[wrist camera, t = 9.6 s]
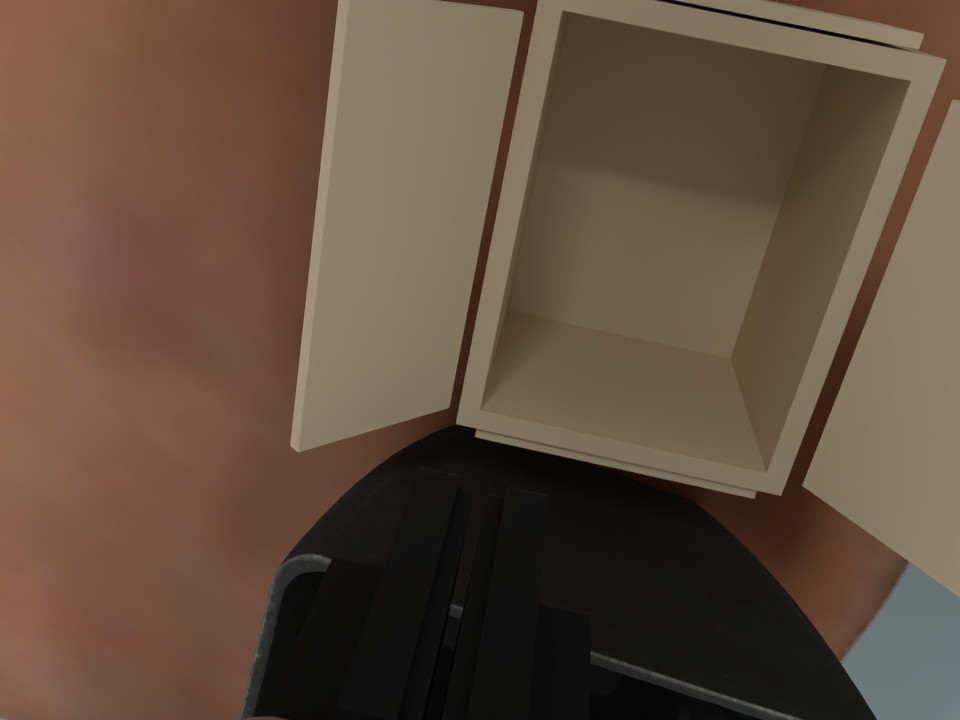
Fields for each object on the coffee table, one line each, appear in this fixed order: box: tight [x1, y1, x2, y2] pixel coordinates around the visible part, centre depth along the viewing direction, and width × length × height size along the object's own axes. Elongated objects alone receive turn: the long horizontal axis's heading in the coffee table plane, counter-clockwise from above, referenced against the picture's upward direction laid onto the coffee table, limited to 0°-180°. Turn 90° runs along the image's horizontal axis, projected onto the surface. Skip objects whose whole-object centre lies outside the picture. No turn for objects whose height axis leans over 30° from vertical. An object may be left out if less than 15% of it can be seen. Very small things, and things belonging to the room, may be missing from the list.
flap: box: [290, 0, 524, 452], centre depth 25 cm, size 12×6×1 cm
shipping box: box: [456, 0, 947, 499], centre depth 32 cm, size 15×11×10 cm
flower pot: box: [239, 425, 877, 720], centre depth 37 cm, size 19×19×17 cm
